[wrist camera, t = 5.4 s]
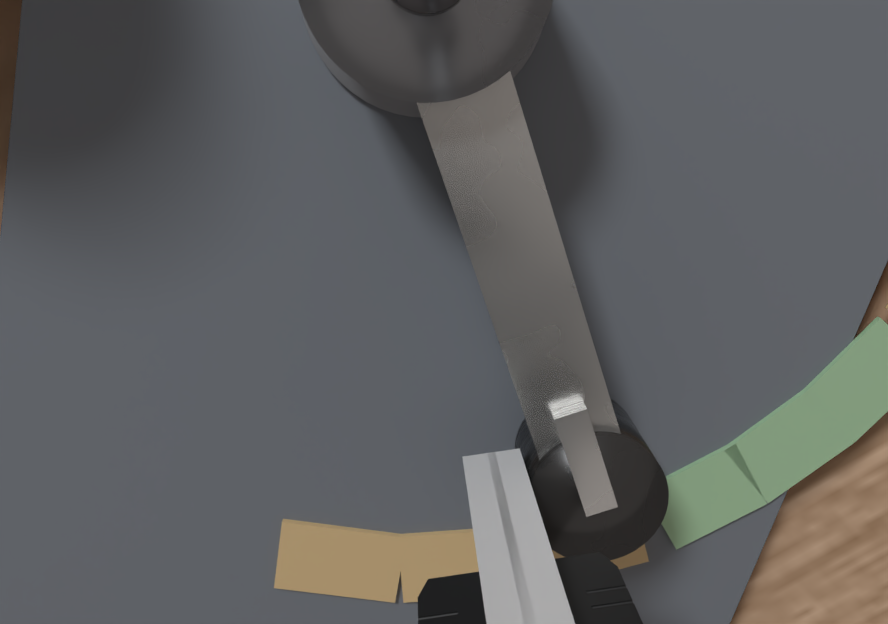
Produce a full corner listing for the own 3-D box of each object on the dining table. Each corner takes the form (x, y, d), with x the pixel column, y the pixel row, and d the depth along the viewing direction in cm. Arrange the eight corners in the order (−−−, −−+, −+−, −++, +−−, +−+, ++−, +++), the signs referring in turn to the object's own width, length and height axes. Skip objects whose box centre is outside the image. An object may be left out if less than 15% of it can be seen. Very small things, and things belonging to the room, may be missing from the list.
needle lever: (281, -90, 15) (237, -144, 11) (494, -172, 15) (518, -254, 11) (508, 524, 19) (529, 629, 15) (677, 471, 19) (739, 565, 15)
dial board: (-16, 633, 22) (-44, 669, 20) (92, -415, 15) (59, -464, 13) (734, 770, 24) (753, 811, 23) (1132, -79, 17) (1193, -93, 16)
